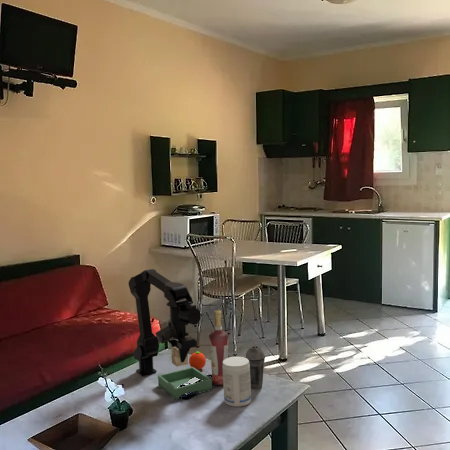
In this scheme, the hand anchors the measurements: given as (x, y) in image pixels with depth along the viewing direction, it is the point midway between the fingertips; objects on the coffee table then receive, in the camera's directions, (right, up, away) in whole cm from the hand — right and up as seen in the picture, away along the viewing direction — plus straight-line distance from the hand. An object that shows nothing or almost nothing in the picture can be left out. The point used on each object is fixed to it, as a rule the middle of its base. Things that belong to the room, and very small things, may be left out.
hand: (179, 360), depth 191 cm
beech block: (0, -1, 0) cm, 1 cm away
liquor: (+15, -10, +5) cm, 19 cm away
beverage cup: (+28, -10, 0) cm, 30 cm away
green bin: (+2, -11, +2) cm, 11 cm away
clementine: (+6, -9, +21) cm, 23 cm away
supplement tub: (+21, -12, -11) cm, 27 cm away
